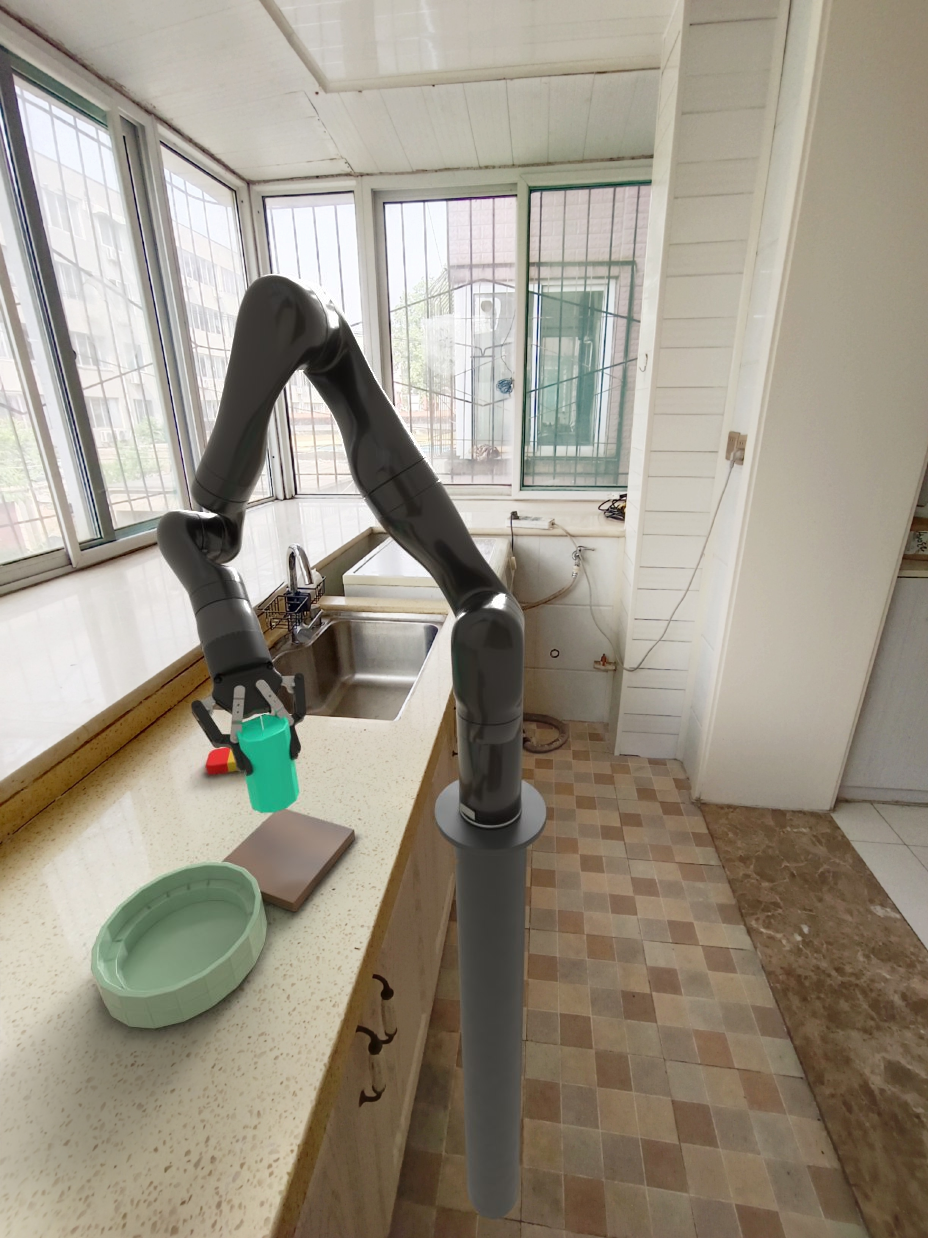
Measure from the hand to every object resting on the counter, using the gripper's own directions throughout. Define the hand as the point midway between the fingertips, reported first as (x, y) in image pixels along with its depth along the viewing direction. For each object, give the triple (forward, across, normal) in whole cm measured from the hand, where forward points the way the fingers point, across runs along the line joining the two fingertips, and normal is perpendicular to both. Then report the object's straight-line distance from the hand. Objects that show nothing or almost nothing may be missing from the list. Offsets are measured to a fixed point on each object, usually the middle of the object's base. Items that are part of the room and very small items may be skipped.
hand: (272, 765), depth 65 cm
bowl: (+15, -13, +7) cm, 21 cm away
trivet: (+10, 0, +12) cm, 16 cm away
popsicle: (-8, +2, +31) cm, 32 cm away
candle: (+3, 0, +6) cm, 6 cm away
